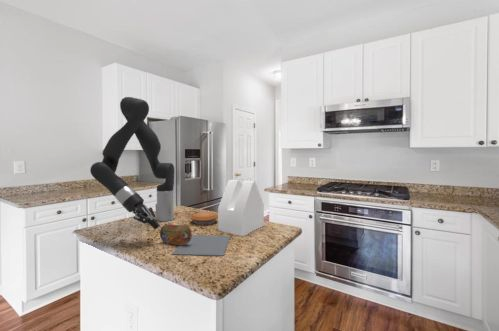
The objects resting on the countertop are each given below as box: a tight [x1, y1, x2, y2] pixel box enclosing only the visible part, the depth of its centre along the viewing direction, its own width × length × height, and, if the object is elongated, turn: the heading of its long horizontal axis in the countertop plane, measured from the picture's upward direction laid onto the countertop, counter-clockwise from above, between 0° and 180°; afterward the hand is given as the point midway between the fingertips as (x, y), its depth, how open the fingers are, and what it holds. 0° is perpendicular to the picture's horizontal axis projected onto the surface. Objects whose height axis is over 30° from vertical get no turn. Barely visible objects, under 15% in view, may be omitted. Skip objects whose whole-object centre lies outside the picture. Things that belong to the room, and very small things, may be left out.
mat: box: [171, 234, 232, 257], centre depth 104 cm, size 20×22×1 cm
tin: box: [159, 223, 193, 246], centre depth 104 cm, size 15×3×8 cm, turn 68°
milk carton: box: [217, 179, 265, 237], centre depth 126 cm, size 19×15×25 cm
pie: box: [189, 211, 218, 226], centre depth 138 cm, size 15×16×5 cm
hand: (157, 227), depth 104 cm, fingers closed
